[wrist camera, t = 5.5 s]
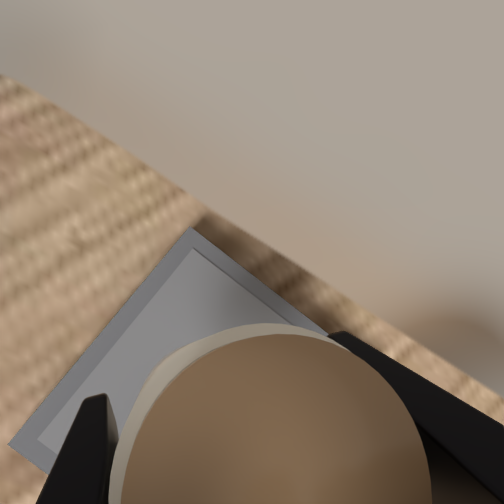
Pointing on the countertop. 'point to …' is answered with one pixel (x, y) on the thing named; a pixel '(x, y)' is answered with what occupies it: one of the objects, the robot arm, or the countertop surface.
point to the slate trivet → (154, 337)
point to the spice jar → (268, 427)
